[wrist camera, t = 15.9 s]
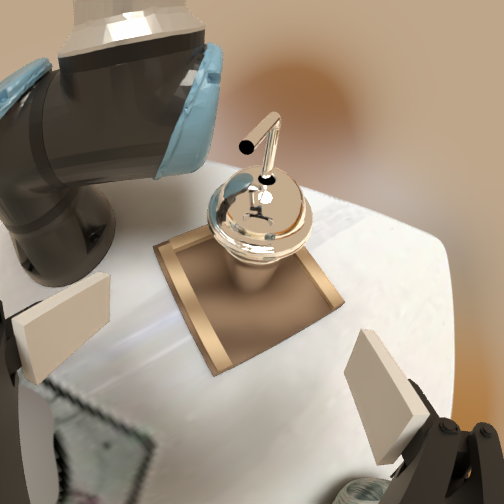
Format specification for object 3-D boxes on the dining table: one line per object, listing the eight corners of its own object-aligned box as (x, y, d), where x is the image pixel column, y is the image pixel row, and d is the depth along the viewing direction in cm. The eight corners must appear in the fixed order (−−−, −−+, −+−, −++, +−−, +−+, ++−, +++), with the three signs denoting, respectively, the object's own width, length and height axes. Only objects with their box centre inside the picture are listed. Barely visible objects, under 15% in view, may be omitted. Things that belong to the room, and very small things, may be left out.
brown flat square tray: (154, 252, 32) (151, 242, 31) (268, 208, 38) (271, 198, 36) (214, 376, 25) (213, 373, 24) (341, 306, 31) (347, 299, 29)
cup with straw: (303, 278, 31) (378, 118, 14) (243, 330, 27) (279, 167, 11) (251, 230, 34) (277, 66, 17) (190, 272, 30) (166, 95, 13)
